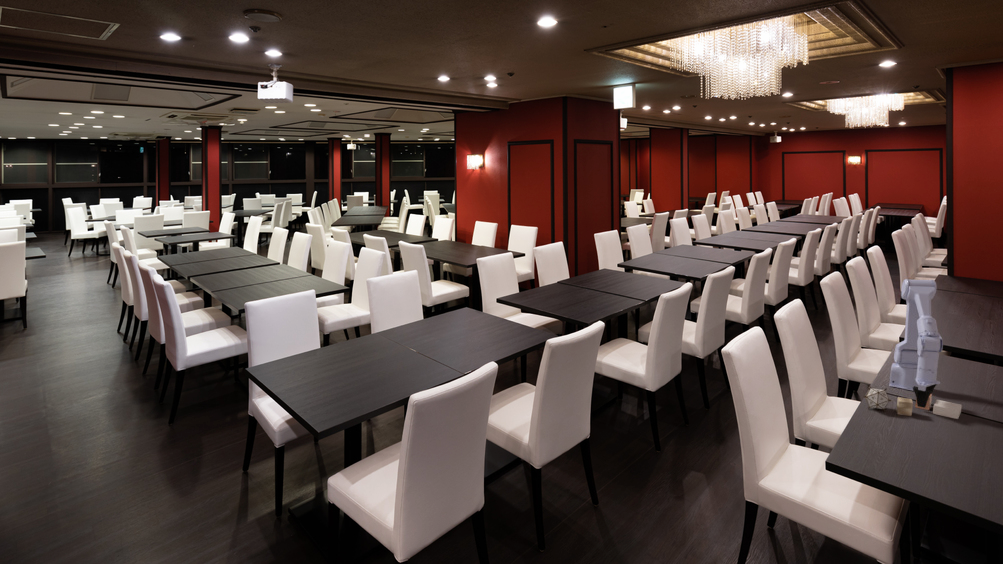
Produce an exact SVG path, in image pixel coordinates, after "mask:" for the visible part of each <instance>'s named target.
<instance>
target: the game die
mask: <svg viewBox="0 0 1003 564" xmlns="http://www.w3.org/2000/svg"><path fill="white" fill-rule="evenodd" d="M868 388H869V390H868V391H867V393H866V395H864V396H863V398H865V400H866V402H867V405H868V407H867V410H869V409H870V408H872V409H878V410H883V412H886V409H885V408H886V407H887V406H888V404H889V402H892V401H893V400H892V399H890V398H889V395H888V393H887V388H884V389H879V388H873V387H872V386H870V385H869V387H868Z"/></svg>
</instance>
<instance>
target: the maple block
mask: <svg viewBox="0 0 1003 564" xmlns="http://www.w3.org/2000/svg"><path fill="white" fill-rule="evenodd" d="M913 404H914V403H913V399H912V398H906V397H900V396H898V397H897V403H896V413H897V415H902V416H909V417H912V414H913V406H914V405H913Z"/></svg>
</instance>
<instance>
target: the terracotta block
mask: <svg viewBox="0 0 1003 564" xmlns="http://www.w3.org/2000/svg"><path fill="white" fill-rule="evenodd" d="M932 399H933V393H932V394H930V396H929V398H928V401H927V404H926V406H925V408H923V407H919V406H918V405H917V399H916V398H915V406H914V407H915V408H917V409H919V410H920V409H921V410H925V411H930V409H931V407H932Z"/></svg>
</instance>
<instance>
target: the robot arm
mask: <svg viewBox="0 0 1003 564" xmlns="http://www.w3.org/2000/svg"><path fill="white" fill-rule="evenodd" d="M937 287H938V286H937V282H936V281H935V279H908V278H905V279H904V280H903V281H902V283H901V291H900V296H901V299H903V300H904V301H906V303H905V304H906V312H905V328H904V340H902V341H901V342H898V343H896V345H895V349H894V352H893V360H894V362H892V364H891V367H890V373H889V374H890V375H889V385H888V386H889V387H892V388H893V387H894V388H897V389H903V390H907V391H911V392H912V391H913V392H914V394H915V400H916V399H917V405H918V406H919V407H923V408H925V406H926V404H927V401H928V398H929V396H930V394H932V395H933V391H934V389H935V388H936V386H937V385H940V384H941V380H940V381H939V380H937V376H938V375H937V373H938V365H939V359H940V358H939V356H940V353H941V352H942V351H943V349H944V348H943V347H944V343H943V338H942V336H941V334H940V333H939V330H938V325H937V320H936V318H934V317H932V300H933V299H934V297H935V295H936V292H937Z"/></svg>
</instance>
